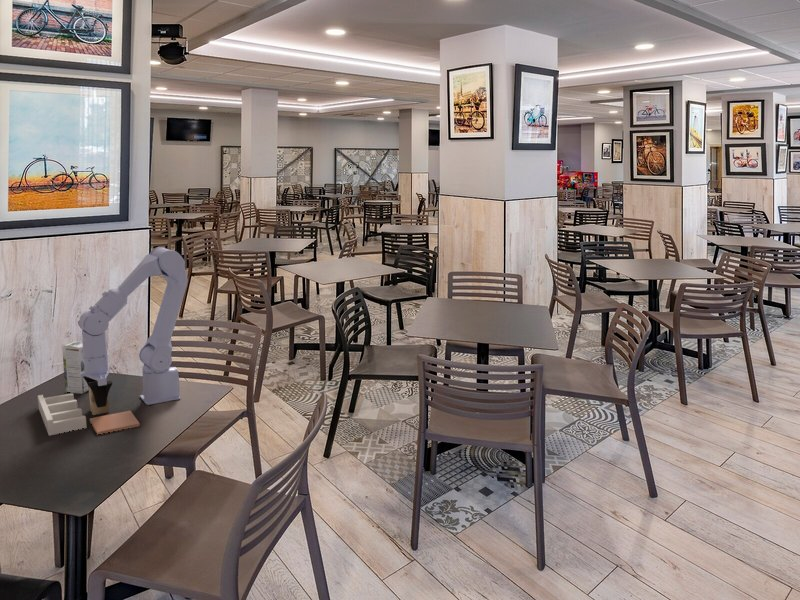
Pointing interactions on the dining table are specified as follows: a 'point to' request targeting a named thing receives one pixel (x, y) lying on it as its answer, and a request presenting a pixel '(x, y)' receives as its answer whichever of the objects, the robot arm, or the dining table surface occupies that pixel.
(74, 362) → the white carton
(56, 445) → the dining table surface
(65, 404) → the slot rack
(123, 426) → the terracotta tile
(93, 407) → the block
